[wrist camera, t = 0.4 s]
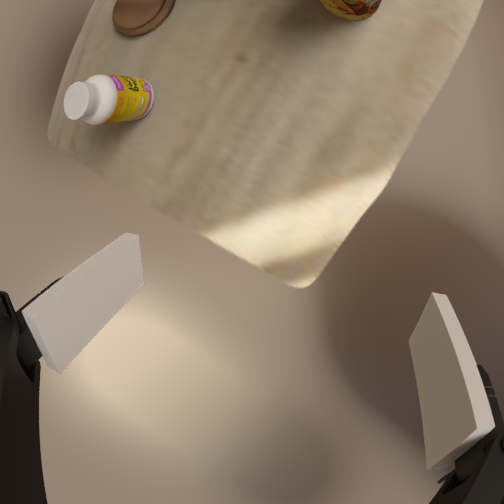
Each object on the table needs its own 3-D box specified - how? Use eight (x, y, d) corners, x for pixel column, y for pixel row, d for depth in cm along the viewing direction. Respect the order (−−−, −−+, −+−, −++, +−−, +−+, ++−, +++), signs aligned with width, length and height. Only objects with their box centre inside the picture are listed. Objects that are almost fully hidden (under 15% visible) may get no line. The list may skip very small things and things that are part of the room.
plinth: (122, -15, 27) (115, -17, 26) (181, -29, 25) (175, -34, 24) (112, 41, 32) (104, 39, 31) (170, 30, 31) (163, 27, 29)
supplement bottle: (164, 90, 35) (103, 88, 24) (141, 127, 38) (80, 139, 27) (134, 70, 34) (72, 65, 23) (114, 106, 38) (52, 113, 26)
